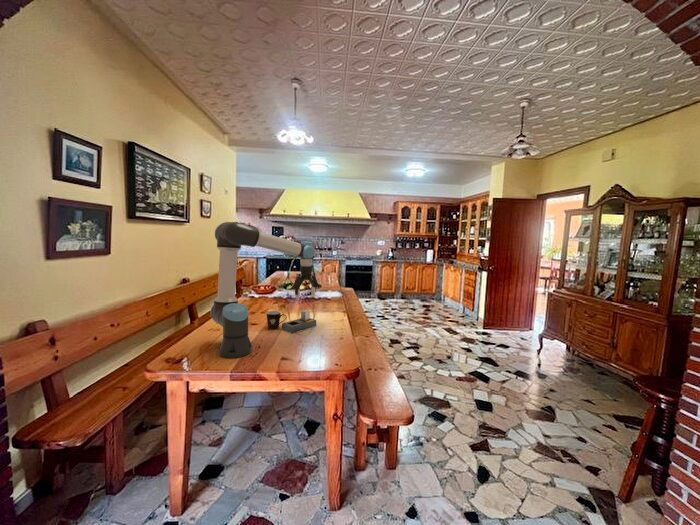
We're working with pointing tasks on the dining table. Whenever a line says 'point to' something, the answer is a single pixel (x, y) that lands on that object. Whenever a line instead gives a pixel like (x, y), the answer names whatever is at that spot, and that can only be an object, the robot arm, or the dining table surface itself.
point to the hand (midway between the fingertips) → (305, 298)
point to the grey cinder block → (298, 325)
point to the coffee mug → (274, 319)
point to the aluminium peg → (305, 315)
